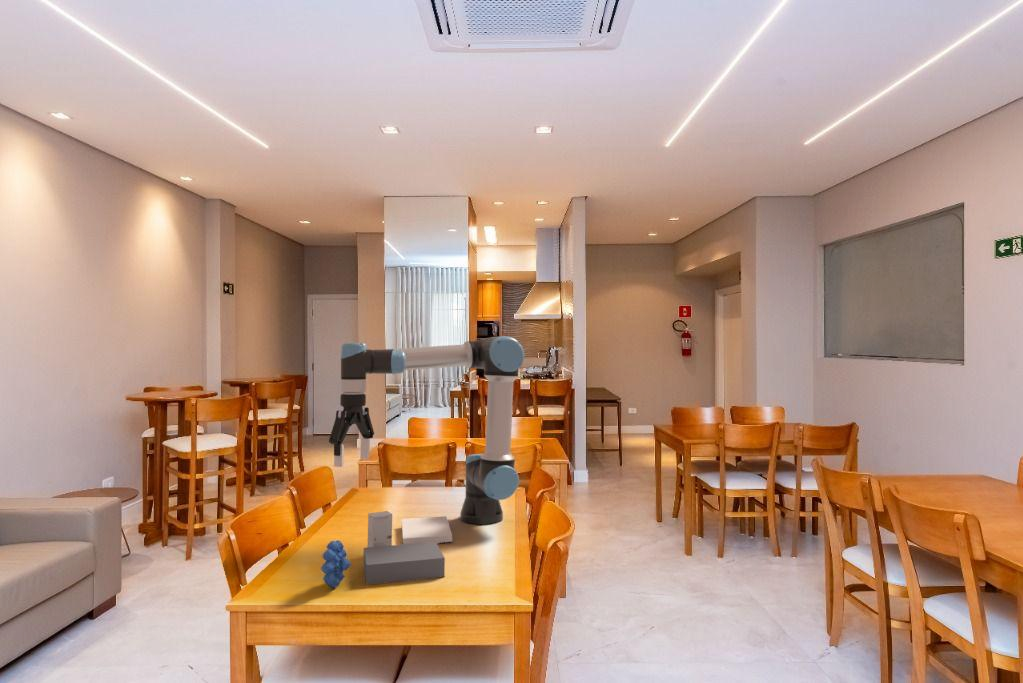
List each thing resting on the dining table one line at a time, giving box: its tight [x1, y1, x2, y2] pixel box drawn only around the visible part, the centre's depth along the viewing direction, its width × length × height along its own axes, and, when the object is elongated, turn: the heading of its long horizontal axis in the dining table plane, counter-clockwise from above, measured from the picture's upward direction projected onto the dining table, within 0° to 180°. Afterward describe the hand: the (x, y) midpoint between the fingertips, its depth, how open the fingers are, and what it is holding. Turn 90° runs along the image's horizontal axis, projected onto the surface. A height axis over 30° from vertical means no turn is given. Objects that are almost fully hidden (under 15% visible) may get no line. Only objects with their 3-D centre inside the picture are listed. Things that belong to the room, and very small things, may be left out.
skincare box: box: [367, 510, 393, 548], centre depth 176 cm, size 6×4×12 cm
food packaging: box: [401, 515, 453, 545], centre depth 196 cm, size 15×3×20 cm
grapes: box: [320, 539, 352, 589], centre depth 151 cm, size 12×7×12 cm, turn 174°
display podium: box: [363, 542, 446, 585], centre depth 163 cm, size 20×14×5 cm
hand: (352, 462), depth 185 cm, fingers open, 13 cm apart
